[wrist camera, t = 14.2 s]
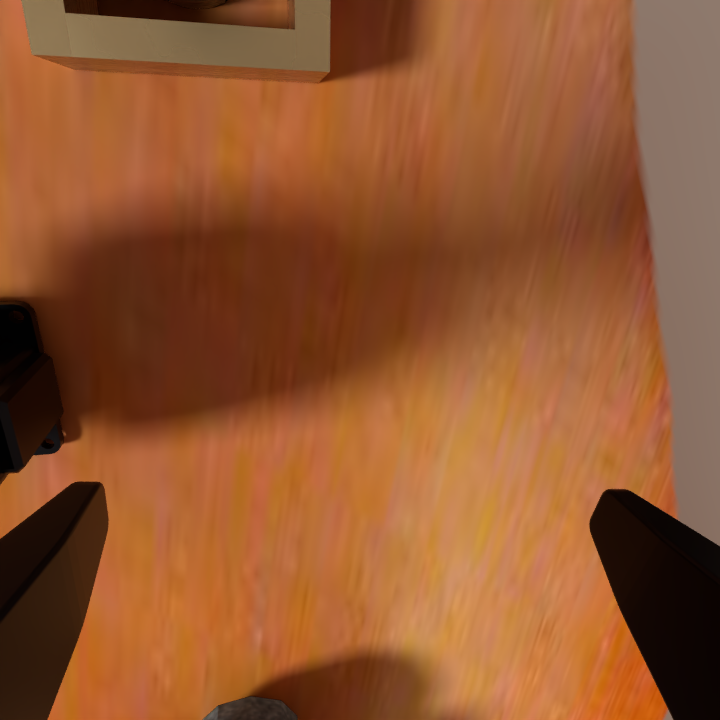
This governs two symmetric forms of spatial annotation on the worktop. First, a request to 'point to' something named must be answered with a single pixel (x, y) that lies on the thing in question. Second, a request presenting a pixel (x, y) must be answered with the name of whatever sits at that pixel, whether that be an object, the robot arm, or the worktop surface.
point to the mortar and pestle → (252, 710)
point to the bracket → (181, 43)
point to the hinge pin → (197, 3)
